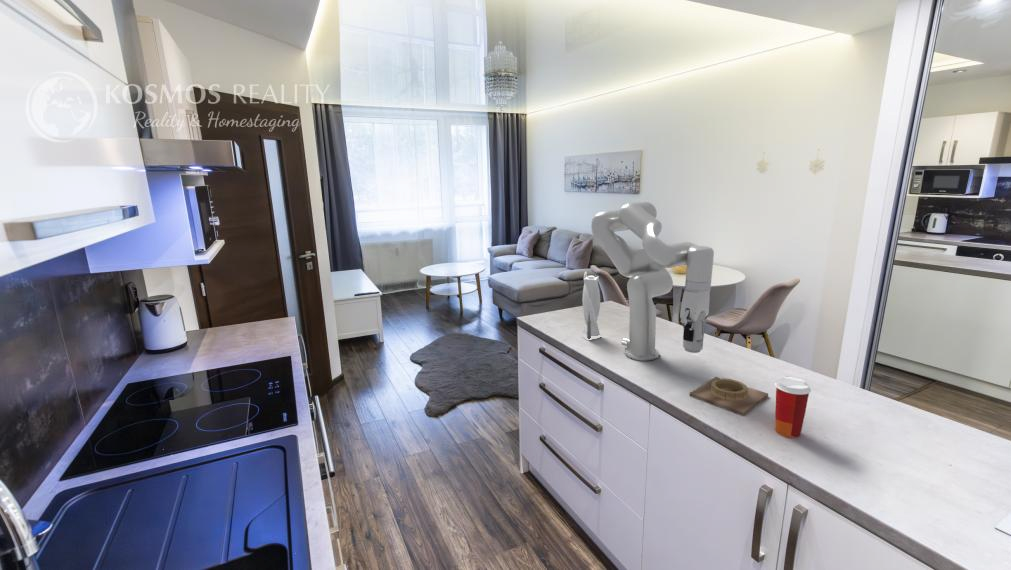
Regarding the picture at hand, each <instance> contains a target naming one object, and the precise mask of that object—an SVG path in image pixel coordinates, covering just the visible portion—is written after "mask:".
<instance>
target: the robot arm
mask: <svg viewBox="0 0 1011 570" xmlns="http://www.w3.org/2000/svg"><path fill="white" fill-rule="evenodd" d="M657 213H658V211H657V209H656V207H655V205H654V204H653V203H651V202H649V201H639V202H628V203H626V204H623V205H622V206H621V207H620V208H619V209H610V210H605V211H600V212H598V213H597V214H595V215H594V216H593V218H592V220H591V225H590V226H591V227H590V228H591V232H592V237H593V238H594V239H595V242H596V243H597V244H598V245H599V246H600V248H601V249H602V250H603V251H604V252H605V253H606V255H607V256H608V258H609V259H610V261H611V263H612V264H613V265H614V267H615V268H616V270H617V271H618V273H619V274H621V275H622V276H624V277H630V278H629V279H628V281H627V284H626V287H627V288H626V291H627V296H628V301H629V303H628V305H629V308H628V309H629V315H628V316H629V317H628V318H629V323H628V324H629V325H628V326H629V327H628V330H629V331H628V338H625V337H624V338H623V339H622V341H621V345H622V346H625V347H626V348H625V349H624V355H625V356H626V357H627V356H628V357H627V358H629V359H631V358H632V360H635V361H641V362H643V361H645V362H646V361H654V360H656V359H658V358H659V357H660V351H659V350H657V348H656V333H657V332H656V329H657V308H656V305H655V303H654V301H653V299H654V298H655V297H656V298H657V297H660V296H663V295H666V294H667V295H668V293H670V292H671V291H672V290H673V286H674V282H673V281H674V280H673V278H672V276H671V274H670V272H669V271H668V270H667V269H672V268H676V267H681V266H686V269H685V271H686V272H685V281H684V283H685V284H684V291H683V294H682V300H681V307H680V312H679V314H680V316H679V318H680V323H681V326H682V328H683V335H682V339H684V340H687V341H690V342H692V341H693V336H694V330H693V327H694V323H695V321H697V320H698V317H699V314H700V313H701V311H702V310H705V312H706V316H705V325H706V323H707V321H706V320H707V318H708V315H709V313H710V300H711V299H710V297H711V295H710V292H711V286H712V278H713V277H712V276H713V267H714V254H715V252H714V249H713V248H712V247H710V246H706V245H698V244H695V243H692V242H688V241H684V242H677V243H676V242H675V243H670V244H666V243H665V242H663V241H662V240H661V239H659V238H658V236H659V235H660V234H661V232H662V228H663V226H662V225H663V224H662V223H661V221H660V220H658V219H657ZM624 231H631V232H632V233H633V234H634V235H635V236H637V237H638V238H639V239H640V240H641V243H642V247H643V248H639V249H633V248H631V247H630V246H629V244H628V243H627V241H626V240H625V239H624V238H623V237H622V236H620V235H618V234H617V233H618V232H624ZM616 232H617V233H616ZM688 318H691V320H688ZM688 321H689V322H691V325H690V324H689V323H688ZM704 330H705V327H704Z"/></svg>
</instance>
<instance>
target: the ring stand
mask: <svg viewBox="0 0 1011 570" xmlns="http://www.w3.org/2000/svg"><path fill="white" fill-rule="evenodd" d="M689 397H692V398H695V399H698V400H700V401H702V402H705V403H708V404H711V405H713V406H716V407H719V408H721V409H723V410H727V411H730V412H733V413H735V414H738V415H740V416H745V415H746V414H747V413H749V412H750V411H752V410H753V409H754V408H755V407H757V406H758V405H759V404H760V403H762V402H763V401H764V400H766V399H767V398H768V397H769V393H768V392H765V391H762V390H758V389H755V388H752V387H749V386H748V385H746V384H744V382H742V381H739V380H736V379H733V378H732V379H731V378H723V377H722V378H720V377H718V376H714V377H713V378H712V379H710V380H708V381H707V382H705V383H703V384H702V385H700V386H698V387H696V388H695V389H694V390H692V391H690V392H689Z"/></svg>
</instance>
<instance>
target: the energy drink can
mask: <svg viewBox="0 0 1011 570" xmlns="http://www.w3.org/2000/svg"><path fill="white" fill-rule="evenodd" d="M705 316H706V312H705V310H702V311H701V313H700V314H699V317H698V320H697V321H695V323H694V327H693V330H694V336H693V341H692V342H690V341H687V340H684V339H683V338H682V339H683V340H682V347H683V348H684V350H685V351H686V352H688V353H691V354H692V353H694V354H698V353H700V352H701V351H702V350H703V347H704V338H705V337H704V336H705V329H704V327H705V326H706V324H705ZM688 320H691V318H688ZM688 323H689V324H690V325H691V322H689V321H688Z"/></svg>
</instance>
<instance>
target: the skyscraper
mask: <svg viewBox="0 0 1011 570" xmlns="http://www.w3.org/2000/svg"><path fill="white" fill-rule="evenodd" d="M599 278H600V277H599V275H597V276H595V275H588V271H585V272H584V274H583V283H584V284H583V287H582V298H581V299H582V310H583V311H582V312H583V317H584V321H585V323H584V327H583V331H582V334H583V333H585V334H586V335H587V338H588V339H590V338H591V336H598V335H600V336H601V333H600V330H599V326H598V317H599V314H600V309H601V293H600V287H599V282H598V281H599Z"/></svg>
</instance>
